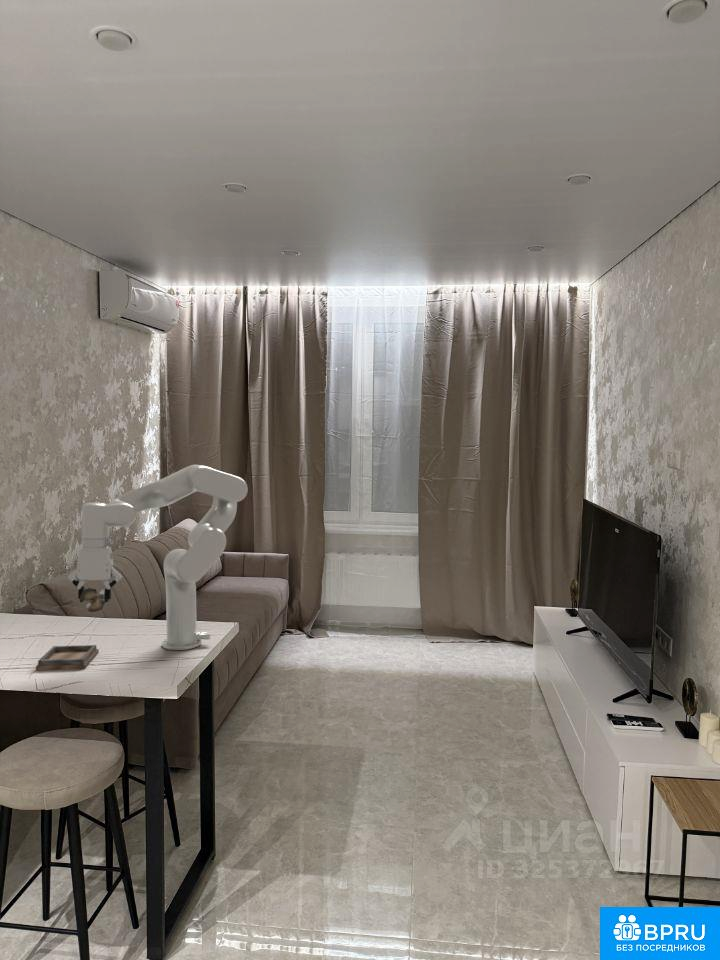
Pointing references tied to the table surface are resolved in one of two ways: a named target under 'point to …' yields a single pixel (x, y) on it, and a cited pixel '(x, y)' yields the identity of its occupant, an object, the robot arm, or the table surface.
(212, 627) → the table surface
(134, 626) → the table surface
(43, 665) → the wooden tray
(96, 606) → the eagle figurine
